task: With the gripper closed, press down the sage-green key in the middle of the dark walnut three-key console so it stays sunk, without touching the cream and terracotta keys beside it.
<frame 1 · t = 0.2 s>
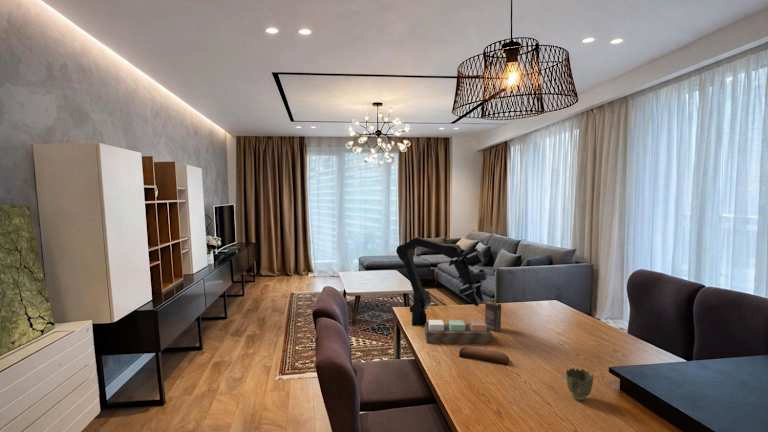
hand: (480, 303, 161), 14 cm above the table, tool tilted 30°, fingers open, 9 cm apart
box: (492, 329, 170), on the table
sunglasses case: (484, 358, 141), on the table
key cream: (436, 327, 159), point 5 cm above the table, slide at 0.0 cm
cup: (578, 399, 112), on the table
key terracotta: (477, 327, 158), point 5 cm above the table, slide at 0.0 cm
console: (456, 338, 159), on the table
key sage: (456, 327, 159), point 5 cm above the table, slide at 0.0 cm
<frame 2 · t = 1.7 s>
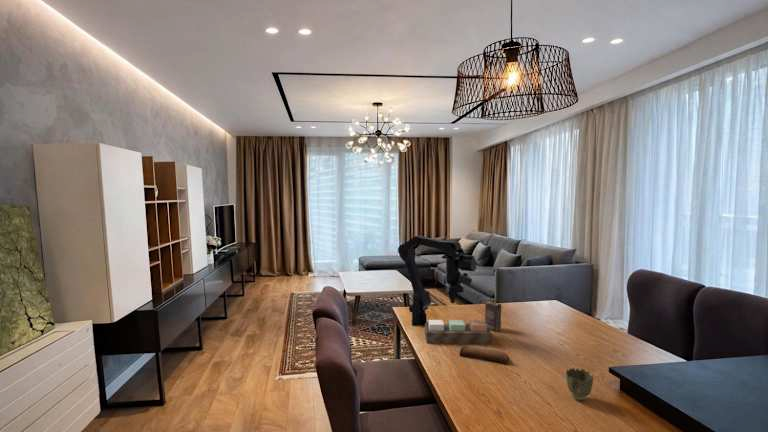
hand: (452, 303, 166), 13 cm above the table, tool pointing down, fingers closed
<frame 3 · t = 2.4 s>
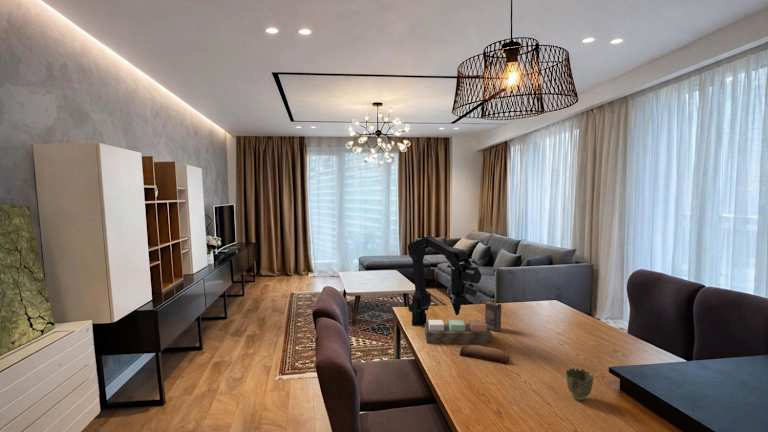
hand: (456, 314, 158), 10 cm above the table, tool pointing down, fingers closed
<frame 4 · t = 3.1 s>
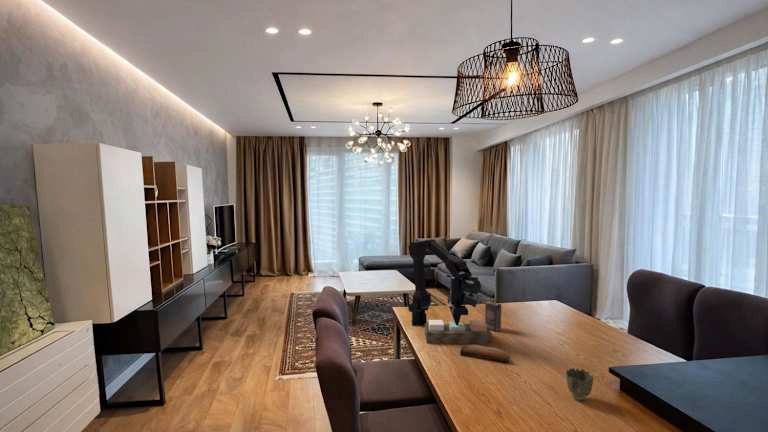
hand: (456, 324, 159), 6 cm above the table, tool pointing down, fingers closed, pressing on key sage
key sage: (456, 329, 159), point 4 cm above the table, slide at 1.0 cm, touching gripper
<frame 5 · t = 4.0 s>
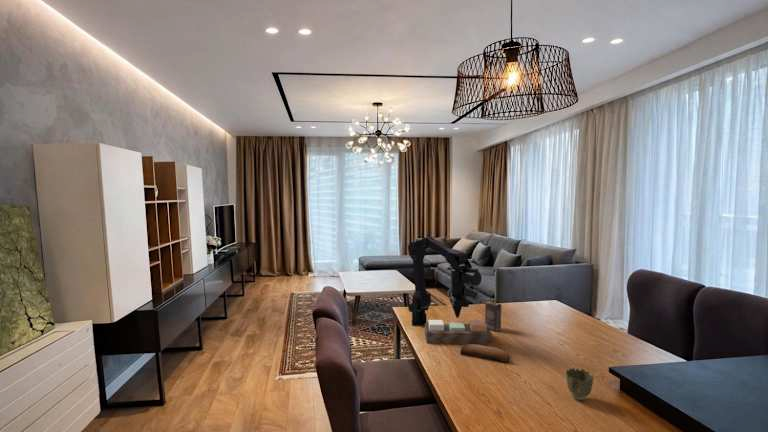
hand: (457, 317, 158), 9 cm above the table, tool pointing down, fingers closed
key sage: (456, 330, 159), point 4 cm above the table, slide at 1.2 cm
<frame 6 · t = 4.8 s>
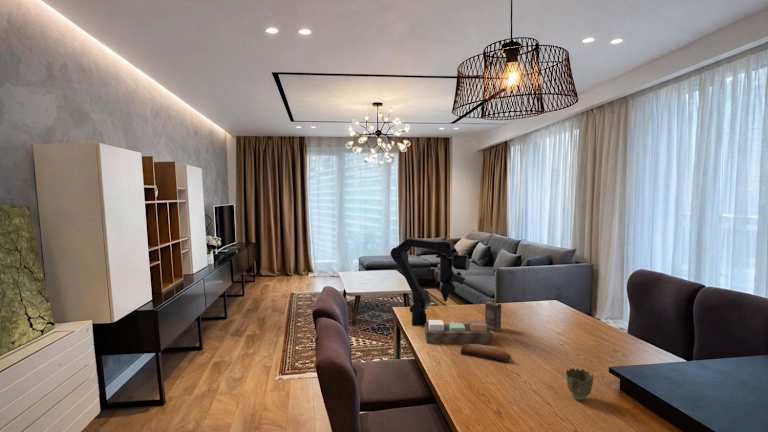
hand: (445, 301, 170), 13 cm above the table, tool pointing down, fingers closed
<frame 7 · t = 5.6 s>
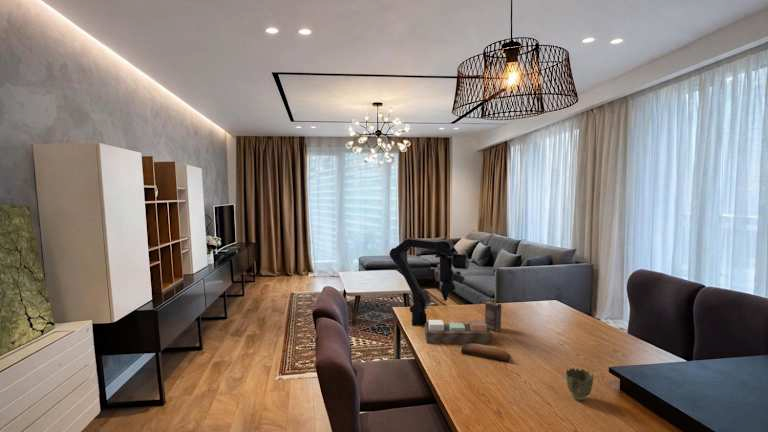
hand: (445, 300, 170), 13 cm above the table, tool pointing down, fingers closed
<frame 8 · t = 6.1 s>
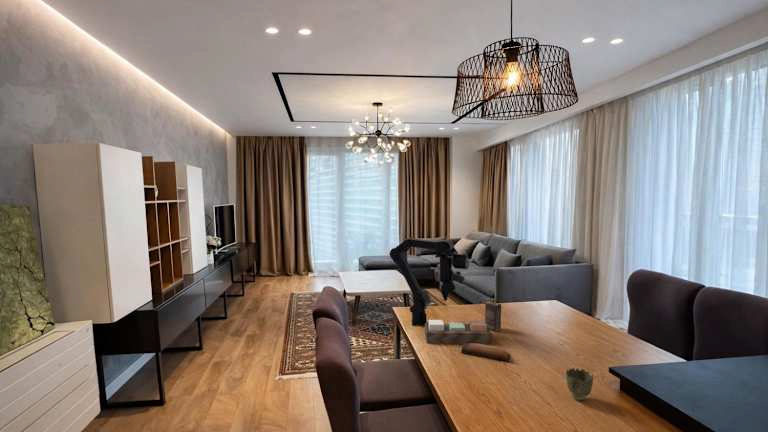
hand: (445, 300, 170), 13 cm above the table, tool pointing down, fingers closed
at the end: key sage slide at 1.2 cm; key cream slide at 0.0 cm; key terracotta slide at 0.0 cm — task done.
